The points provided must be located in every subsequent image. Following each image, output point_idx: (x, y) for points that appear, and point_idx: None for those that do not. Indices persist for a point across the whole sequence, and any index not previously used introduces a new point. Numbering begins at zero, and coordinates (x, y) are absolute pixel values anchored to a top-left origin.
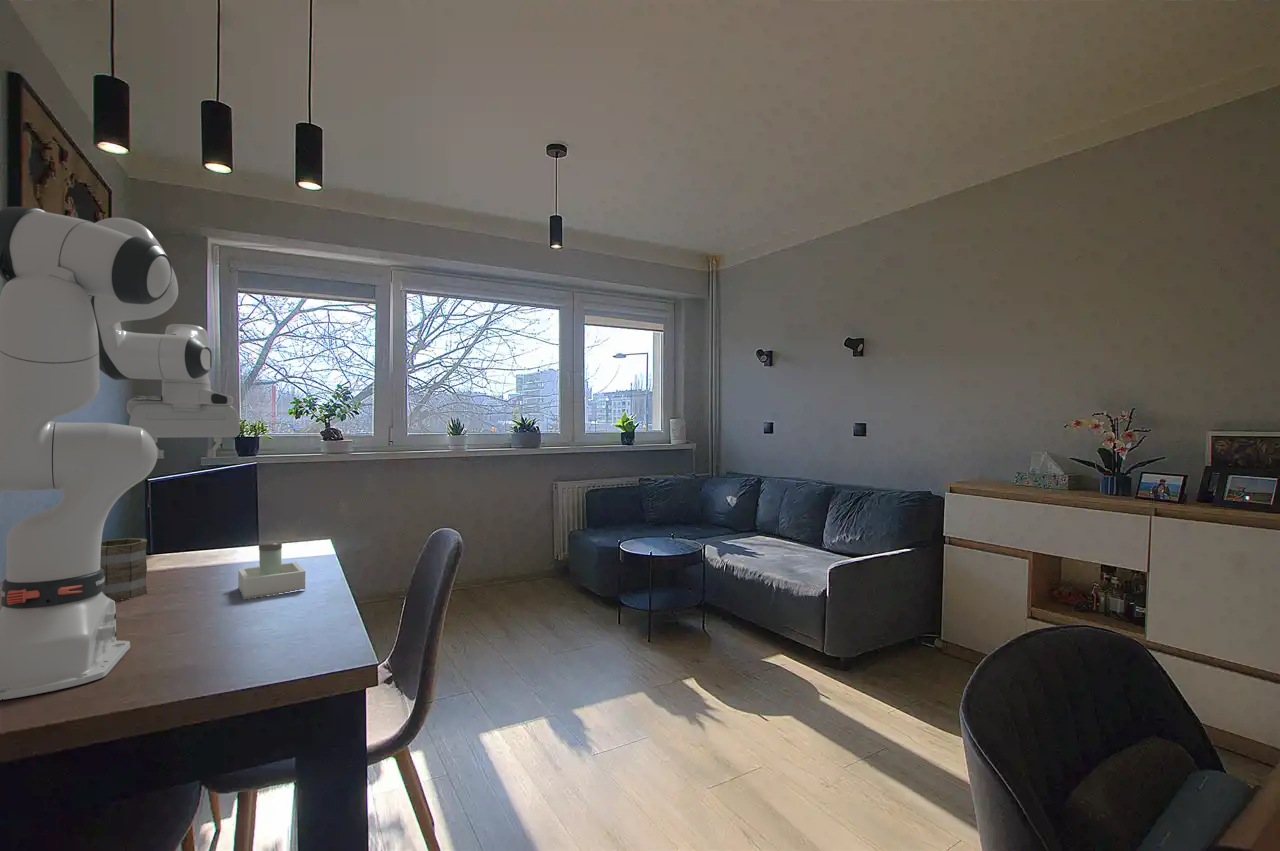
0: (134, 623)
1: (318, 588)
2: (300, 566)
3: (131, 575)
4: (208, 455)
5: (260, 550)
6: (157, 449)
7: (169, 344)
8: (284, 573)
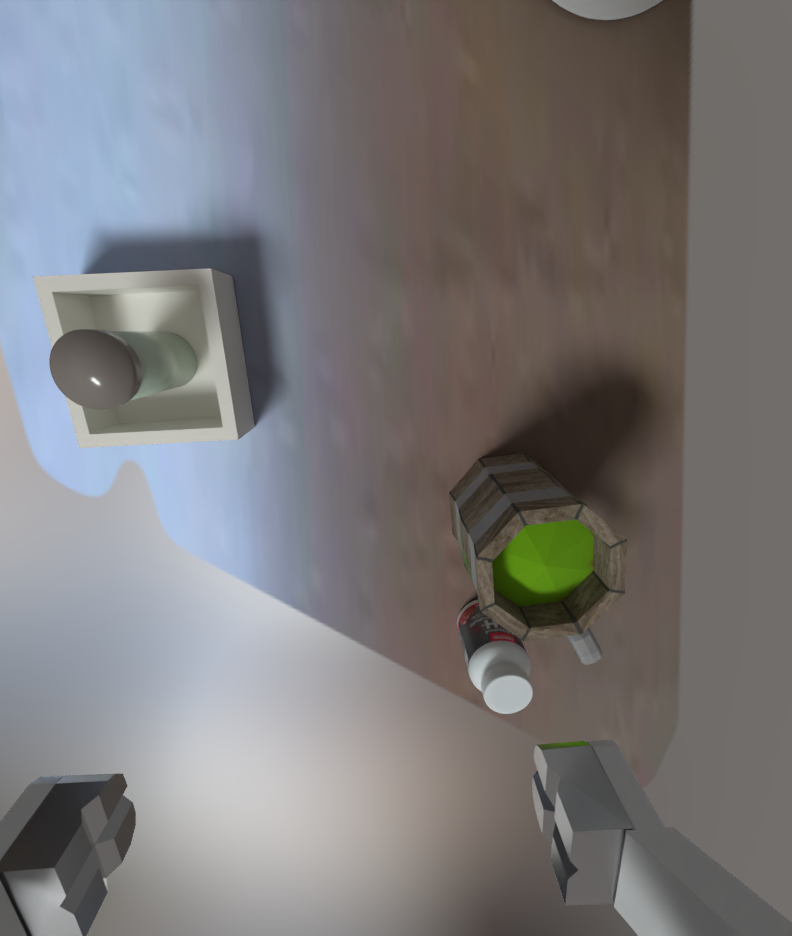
0: (467, 184)
1: None
2: None
3: (492, 480)
4: (104, 783)
5: (134, 350)
6: (654, 841)
7: None
8: (96, 281)
